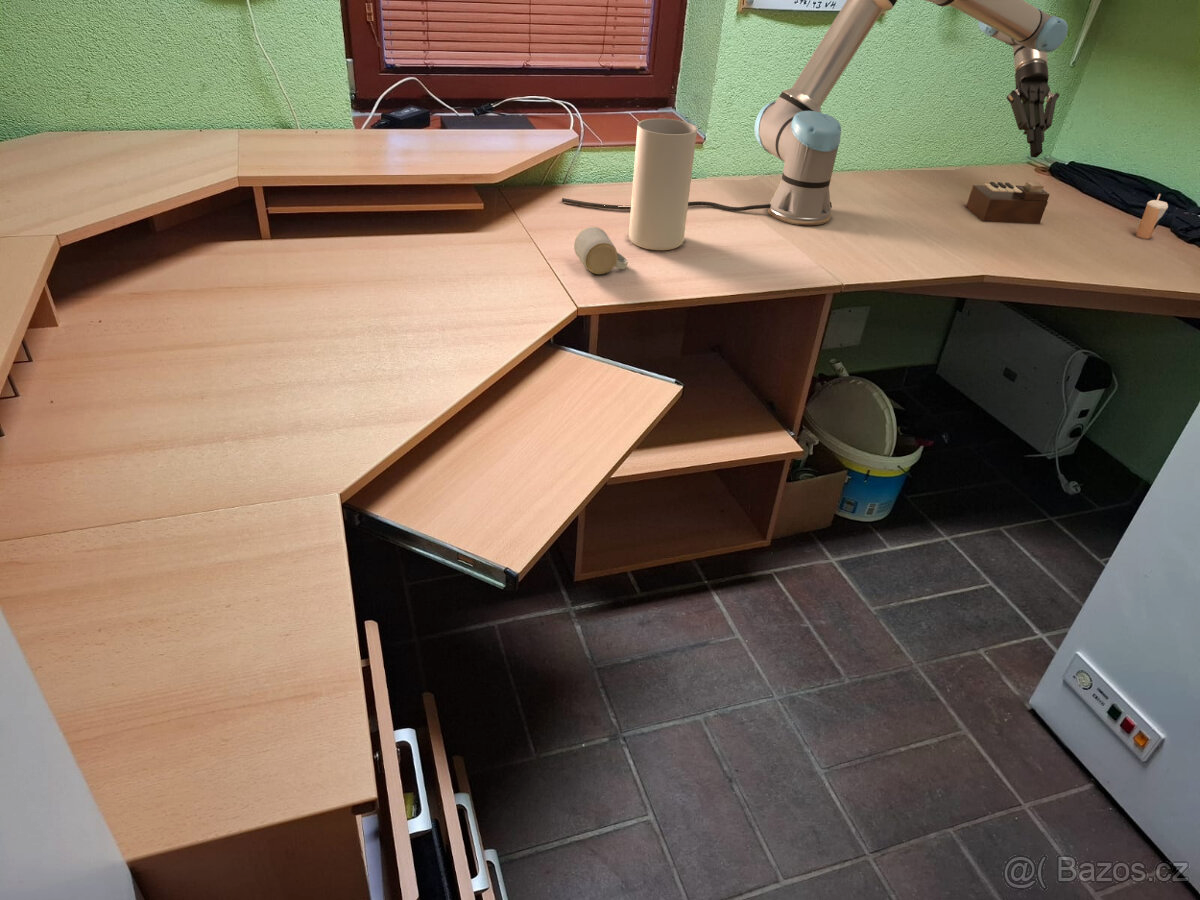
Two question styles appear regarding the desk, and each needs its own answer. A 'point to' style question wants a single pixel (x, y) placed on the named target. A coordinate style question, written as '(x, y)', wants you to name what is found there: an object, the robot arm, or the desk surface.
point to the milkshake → (1151, 217)
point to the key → (1033, 187)
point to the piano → (1007, 205)
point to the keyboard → (1002, 187)
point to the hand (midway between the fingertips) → (1036, 154)
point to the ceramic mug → (597, 251)
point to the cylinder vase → (661, 183)
